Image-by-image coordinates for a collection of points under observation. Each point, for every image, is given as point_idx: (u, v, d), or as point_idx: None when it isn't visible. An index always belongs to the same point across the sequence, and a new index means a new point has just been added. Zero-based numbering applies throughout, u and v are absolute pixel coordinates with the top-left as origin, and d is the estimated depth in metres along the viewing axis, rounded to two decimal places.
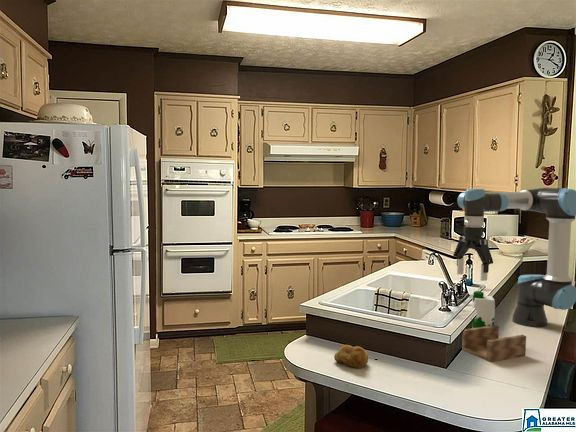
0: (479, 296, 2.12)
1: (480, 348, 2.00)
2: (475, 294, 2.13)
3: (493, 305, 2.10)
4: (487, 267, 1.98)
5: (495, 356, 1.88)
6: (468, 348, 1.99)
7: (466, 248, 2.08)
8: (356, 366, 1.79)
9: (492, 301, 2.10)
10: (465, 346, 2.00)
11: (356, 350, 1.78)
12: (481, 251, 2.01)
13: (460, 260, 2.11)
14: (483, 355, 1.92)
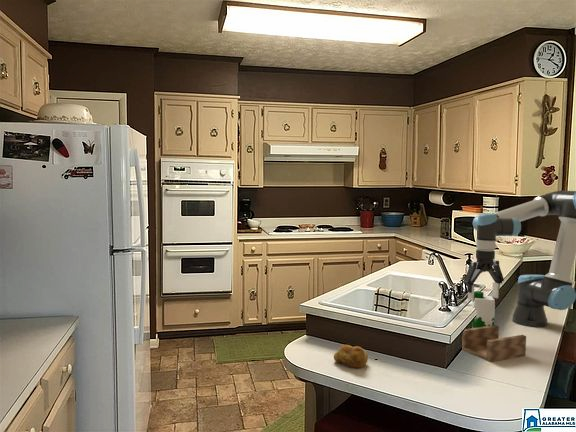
0: (479, 296, 2.12)
1: (480, 348, 2.00)
2: (475, 294, 2.13)
3: (493, 305, 2.10)
4: (468, 287, 2.10)
5: (495, 356, 1.88)
6: (468, 348, 1.99)
7: (489, 271, 2.14)
8: (355, 366, 1.79)
9: (492, 301, 2.10)
10: (465, 346, 2.00)
11: (355, 350, 1.78)
12: (475, 273, 2.11)
13: (494, 283, 2.16)
14: (483, 355, 1.92)
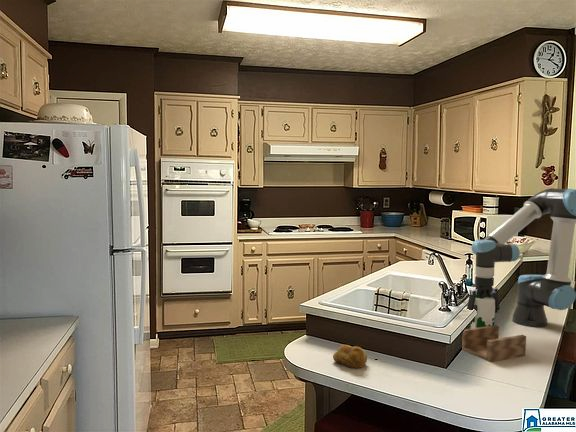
0: (479, 296, 2.12)
1: (480, 348, 2.00)
2: None
3: (493, 305, 2.10)
4: None
5: (495, 356, 1.88)
6: (468, 348, 1.99)
7: None
8: (354, 366, 1.79)
9: (492, 301, 2.10)
10: (465, 346, 2.00)
11: (354, 350, 1.78)
12: None
13: None
14: (483, 355, 1.92)
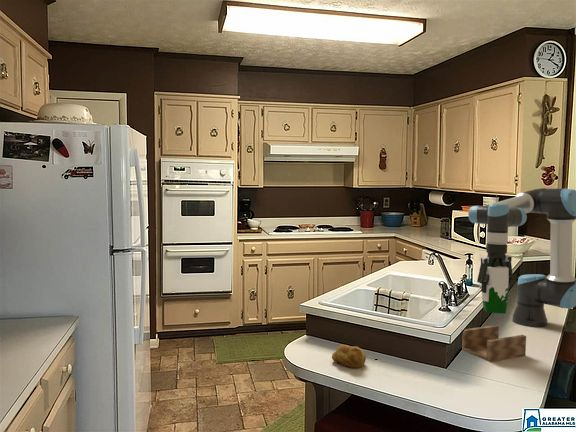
0: (491, 264, 1.94)
1: (480, 348, 2.00)
2: None
3: (507, 274, 1.92)
4: (483, 287, 1.93)
5: (495, 356, 1.88)
6: (468, 348, 1.99)
7: None
8: (353, 366, 1.79)
9: (506, 269, 1.91)
10: (465, 346, 2.00)
11: (352, 350, 1.78)
12: None
13: None
14: (483, 355, 1.92)
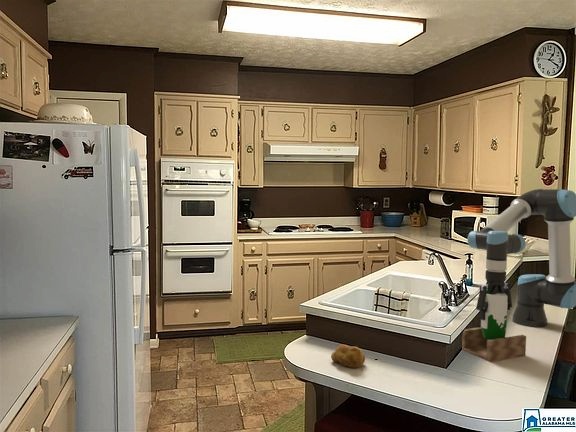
0: (490, 292, 1.94)
1: (480, 348, 2.00)
2: None
3: (506, 301, 1.92)
4: (481, 314, 1.94)
5: (495, 356, 1.88)
6: (468, 348, 1.99)
7: None
8: (352, 366, 1.79)
9: (504, 297, 1.92)
10: (465, 346, 2.00)
11: (351, 350, 1.78)
12: None
13: None
14: (483, 355, 1.92)
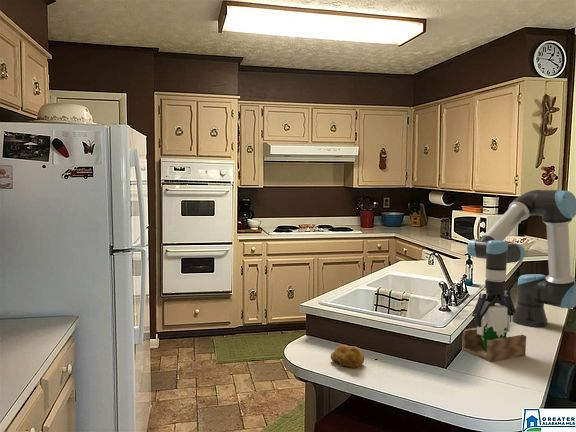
0: None
1: (480, 348, 2.00)
2: None
3: (505, 314, 1.93)
4: (477, 321, 1.94)
5: (495, 356, 1.88)
6: (468, 348, 1.99)
7: (499, 302, 1.98)
8: (351, 366, 1.79)
9: (504, 309, 1.93)
10: (465, 346, 2.00)
11: (350, 350, 1.78)
12: (484, 305, 1.94)
13: None
14: (483, 355, 1.92)
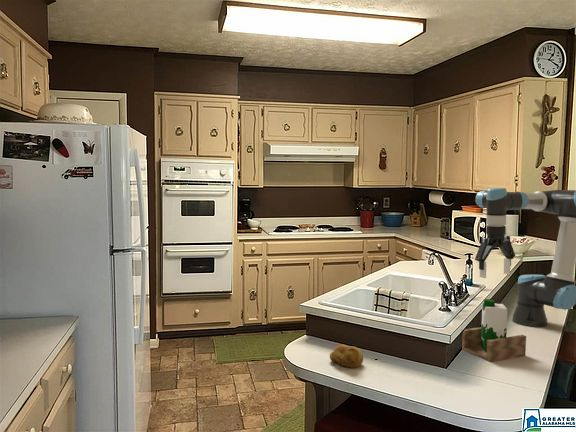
0: (490, 304, 1.95)
1: (480, 348, 2.00)
2: (486, 302, 1.96)
3: (505, 314, 1.93)
4: (480, 264, 2.04)
5: (495, 356, 1.88)
6: (468, 348, 1.99)
7: (500, 247, 2.09)
8: (349, 366, 1.79)
9: (504, 310, 1.92)
10: (465, 346, 2.00)
11: (349, 350, 1.78)
12: (486, 249, 2.05)
13: (505, 259, 2.11)
14: (483, 355, 1.92)
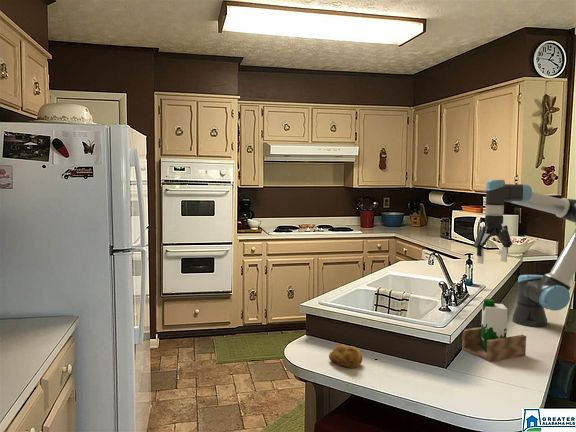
0: (490, 304, 1.95)
1: (480, 348, 2.00)
2: (486, 302, 1.96)
3: (505, 314, 1.93)
4: (478, 251, 2.17)
5: (495, 356, 1.88)
6: (468, 348, 1.99)
7: (498, 236, 2.21)
8: (348, 366, 1.79)
9: (504, 310, 1.92)
10: (465, 346, 2.00)
11: (348, 350, 1.78)
12: (484, 237, 2.18)
13: (503, 248, 2.23)
14: (483, 355, 1.92)
